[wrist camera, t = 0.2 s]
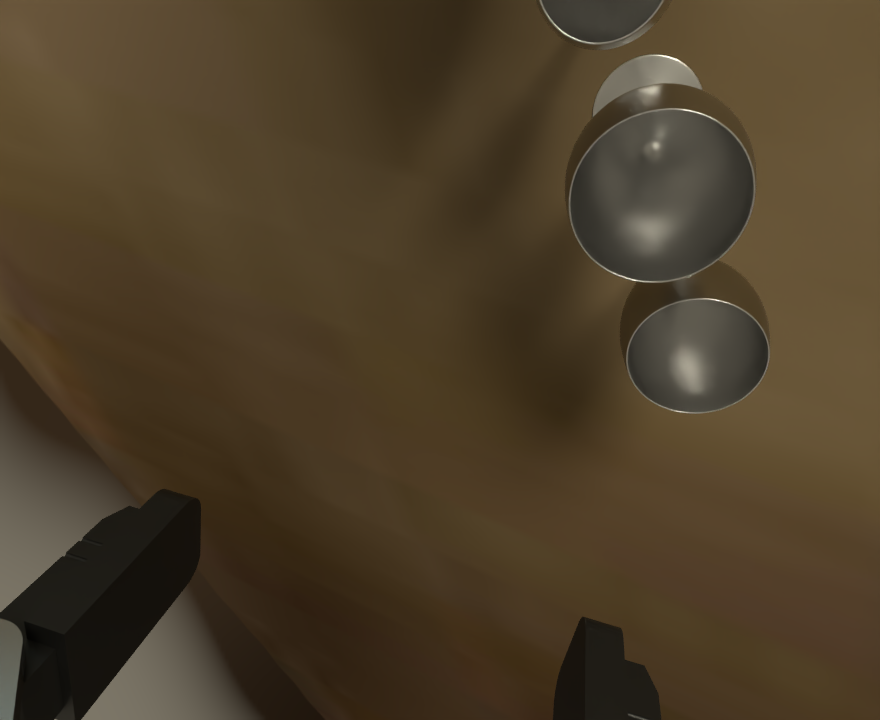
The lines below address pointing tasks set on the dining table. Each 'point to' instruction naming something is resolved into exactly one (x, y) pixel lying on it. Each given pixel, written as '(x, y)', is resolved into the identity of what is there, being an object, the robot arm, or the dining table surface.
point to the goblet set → (666, 213)
